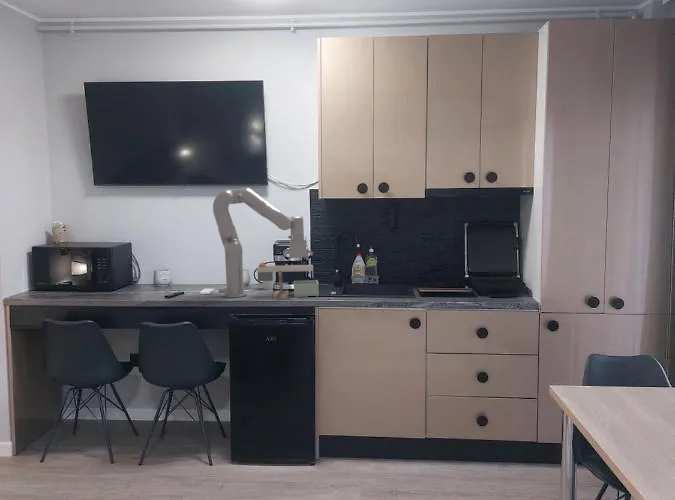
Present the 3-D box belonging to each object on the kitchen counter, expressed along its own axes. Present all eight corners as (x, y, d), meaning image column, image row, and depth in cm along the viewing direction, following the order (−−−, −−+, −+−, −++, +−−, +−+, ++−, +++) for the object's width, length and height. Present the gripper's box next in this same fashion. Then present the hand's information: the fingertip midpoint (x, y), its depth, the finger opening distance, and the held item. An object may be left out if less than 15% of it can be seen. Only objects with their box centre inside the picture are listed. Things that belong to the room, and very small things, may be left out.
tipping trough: (256, 281, 334) (256, 267, 334) (258, 276, 351) (258, 263, 350) (313, 279, 337) (313, 266, 336) (312, 275, 353) (312, 262, 352)
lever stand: (273, 298, 332) (272, 272, 331) (274, 293, 346) (273, 268, 345) (288, 297, 333) (287, 271, 331) (288, 293, 347) (287, 268, 345)
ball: (260, 271, 335) (257, 265, 335) (260, 270, 339) (257, 264, 339) (266, 268, 335) (263, 262, 335) (267, 267, 339) (264, 261, 339)
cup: (294, 297, 333) (293, 284, 333) (294, 293, 347) (293, 280, 346) (318, 296, 334) (318, 283, 334) (317, 292, 348) (317, 280, 347)
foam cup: (257, 289, 362) (257, 267, 361) (266, 287, 370) (265, 265, 369) (271, 290, 358) (270, 268, 356) (279, 287, 366) (278, 266, 364)
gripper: (282, 239, 343) (283, 268, 344) (312, 237, 344) (313, 267, 346) (282, 237, 350) (283, 267, 352) (312, 236, 351) (313, 265, 353)
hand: (298, 267), depth 349 cm, fingers open, 9 cm apart
